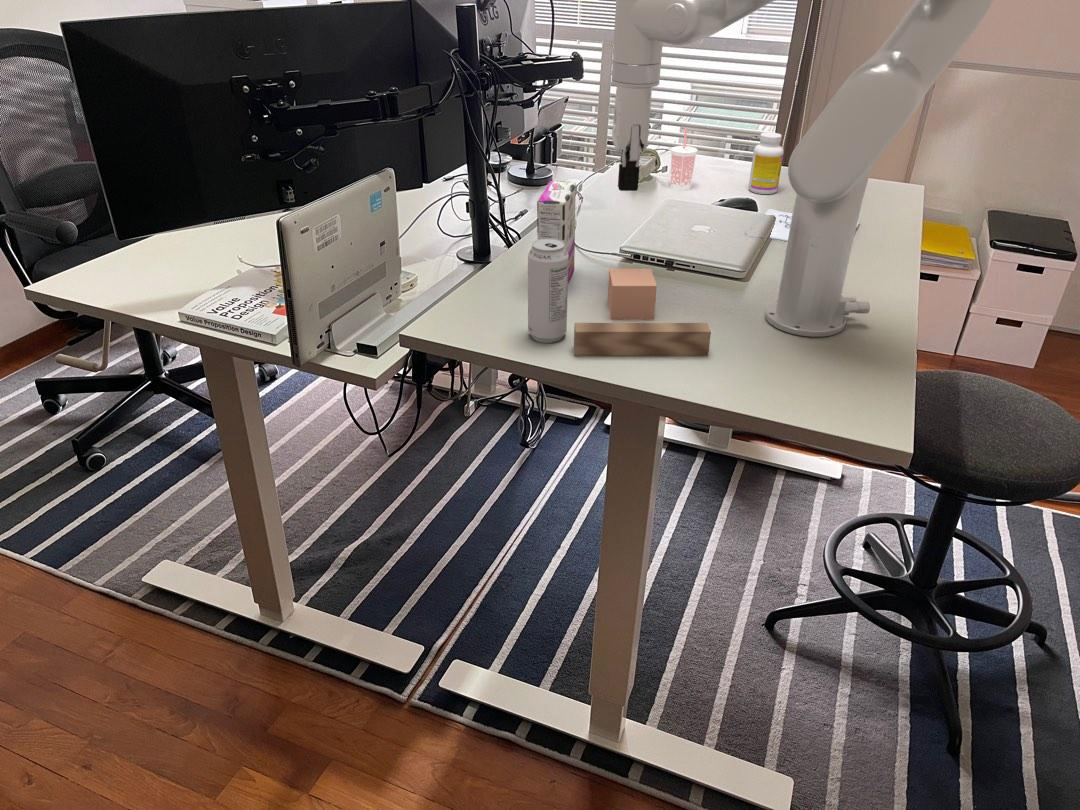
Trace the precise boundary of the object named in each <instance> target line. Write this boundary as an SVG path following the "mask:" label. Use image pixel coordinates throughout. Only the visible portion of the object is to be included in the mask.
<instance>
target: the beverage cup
mask: <svg viewBox="0 0 1080 810" xmlns="http://www.w3.org/2000/svg"><path fill="white" fill-rule="evenodd" d="M687 134H688V126H685V127H684V138H683V145H678V146H677V145H676V146H672V147H671V148H670V154H671V157H670V158H671V161H670V189H671V190H673V191H676V192H686V191H689V190H691V185H692V180H693V173H694V168H695V167H694V166H695V161H696V156H697V155H698V148H696V147H694V146H688V145H687V146H686V144H687V136H688V135H687Z"/></svg>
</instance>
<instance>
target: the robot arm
mask: <svg viewBox="0 0 1080 810" xmlns="http://www.w3.org/2000/svg"><path fill="white" fill-rule="evenodd" d="M775 1H777V0H615V11H614V12H615V13H614V14H615V15H614V30H613V31H614V33H613V46H612V47H613V48H612V66H611V84H612V85H614V86H616V90H615V99H614V108H613V110H614V111H613V122H612V131H611V132H612V134H611V139H612V143H613V147H614V149H615V150H616V151H617V152H619V153H620V160H619V161H620V163H619V164H618V176H617V177H618V178H617V179H618V181H617V187H618V190H619V191H621V192H623V191H625V192H626V191H627V192H631V191H632V192H636V191H638V190H639V189H638V188H639V182H640V181H639V178H640V177H639V176H640V161H641V152H642V153H644V152H645V151H646V150H647V147H648V141H649V131H650V123H651V121H650V120H651V107H652V91H653V88H655V87H658V86H659V85H660V80H661V79H660V77H661V68H662V55H663V44H664V43H665V44H668V45H673V46H686V45H690V44H693V43H695V42H698V41H700V40H702V39H705V38H709V37H711V36H714V35H715V34H717V33H718V32H720V31H722V30H725V29H726V28H728V27H729V26H732V25H733V24H735V23H737V22H738V21H741V20H742V19H744V18H746V17H748V16H749V15H751V14H753V13H755V12H757V11H758V10H760V9H761V8H763V7H765V6H766V5H769V4H771V3H773V2H775ZM994 1H995V0H915V1H914V3H913V4H912V5H911V7H910V8H909V9H908V11H906V12H905V14H904V16H903V17H902V18H901V20H900V22H899V23H898V24H897V26H896V27H895V28H894V29H893V31H892V32H891V34H890V35H889V36H888V38H887V39H886V40H885V42H884V43H882V45H881V47H879V49H878V50H877V51H876V52H875V53H874V54H873V55H872V56H871V57H870V58H869V59H867V60H866V61H865V62H864V63H862V65H860V66H859V67H857V68H856V69H855V70H854V71H853V72H852V73H851V74H850V75H849V76H848V77H847V79H846V80H845V81H844V82H843V84H841V86H840V87H839V89H838V90H837V91H836V93H835V95H834V96H832V98H831V100H830V101H829V102H828V104H827V105H826V106H825V107H824V109H823V110H822V112H821V113H820V114H819V115H818V116H817V118H816V119H815V121H814V122H813V123H812V125H811V126H810V128H809V129H808V130H806V133H805V134H804V135H803V137H802V138H801V140H799V142H798V143H797V145H796V146H795V147H794V149H793V151H792V153H791V154H790V158H789V161H788V166H787V174H788V176H787V177H788V180H789V184H790V186H791V188H792V189H793V191H794V193H796V195H795V201H794V204H793V209H792V213H793V214H792V220H791V225H790V231H789V237H788V243H787V244H786V249H785V255H784V261H783V267H782V273H781V279H780V285H779V289H778V290H779V291H778V295H777V300H773V301H772V302H770V303H769V304H768V305H767V306H766V309H765V312H764V317H765V319H766V321H767V322H768V323H769V324H770V325H771V326H773V327H775V328H776V329H778V330H780V331H783V332H785V333H789V334H792V335H796V336H801V337H802V336H803V337H807V338H808V337H812V338H813V337H815V338H816V337H817V338H818V337H819V338H820V337H829V336H832V335H837V334H839V333H840V332H842V331H843V330H844V329H845V327H846V324H847V317H846V316H849V315H850V314H869V313H870V309H871V306H870V302H869V301H857V297H856V296H843V289H844V284H845V280H846V274H847V271H848V266H849V261H850V258H851V252H852V248H853V243H854V239H855V236H856V235H855V234H856V232H857V231H856V229H857V228H858V227H857V222H858V219H859V217H860V212H861V209H862V204H863V199H864V196H865V192H866V188H867V186H868V181H869V178H870V175H871V171H872V167H873V164H874V162H876V160H877V159H878V158H879V157H880V155H881V154H882V153H883V152H884V151H885V150H886V148H887V147H888V146H889V145H890V143H891V142H892V141H893V140H894V139H895V138H896V137H897V135H898V134H899V133H900V132H901V130H902V129H903V128H904V127H905V125H906V124H907V123H908V122H909V120H910V119H911V118H912V117H913V115H914V114H915V112H916V111H917V109H918V108H919V107H920V105H921V103H922V102H923V99H924V97H925V96H926V95H927V93H928V92H929V90H930V89H931V87H932V86H933V85H934V84H935V82H936V81H937V80H938V78H939V77H940V76H941V75H942V74H943V73H944V72H945V70H946V69H947V67H948V66H949V65H950V64H951V63H952V62H953V60H954V59H955V58H956V56H957V55H958V54H959V52H960V51H961V50H962V49H963V47H965V44H966V43H967V42H968V41H969V39H970V38H971V37H972V36H973V34H974V33H975V32H976V30H977V29H978V27H979V26H980V25H981V23H982V22H983V20H984V19H985V17H986V16H987V14H988V12H989V10H990V9H991V7H992V4H993V3H994ZM856 227H857V228H856Z"/></svg>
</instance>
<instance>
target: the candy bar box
mask: <svg viewBox="0 0 1080 810" xmlns="http://www.w3.org/2000/svg"><path fill="white" fill-rule="evenodd" d="M576 185H577V182H572V181H562V180H561V181H557V180H551V181H549V182H548V183H547V185H546V187H545V188H544V190H543V192H542V193H541V195H540V196H539V198H538V199H537V201H536V206H537V207H536V209H537V210H536V211H537V212H536V213H537V214H536V215H537V218H536V219H537V220H536V221H537V222H536V223H537V228H536V230H537V231H536V232H537V233H536V234H537V235H536V236H537V240H538V239H545V238H551V239H558V240H561V241H563V242H564V244H565V249H566V251H567V253H568V255H569V259H568V284H569V282H570V280H571V278H572V275H573V274H574V272H575V252H576V250H575V249H576V247H575V246H576V245H575V242H576V237H575V236H576V195H577V193H576V192H577V191H576Z"/></svg>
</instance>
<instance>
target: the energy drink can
mask: <svg viewBox="0 0 1080 810" xmlns="http://www.w3.org/2000/svg"><path fill="white" fill-rule="evenodd" d="M568 259H569V255H568V253H567V251H566V249H565V244H564V242H563V241H561V240H558V239H551V238H545V239H538V238H537V239H536V240H533V241H532V243H531V248H530V250H529V252H528V254H527V331H528V333H529V334H530V335H531V338H532V339H533V340H535V341H537V342H540V343H545V344H546V343H547V344H548V343H556V342H559V341H560V340H562V339H563V337H564V335H565V334H566V333H567V325H568V295H569V293H568V291H569V290H568V289H569V283H568Z"/></svg>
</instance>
